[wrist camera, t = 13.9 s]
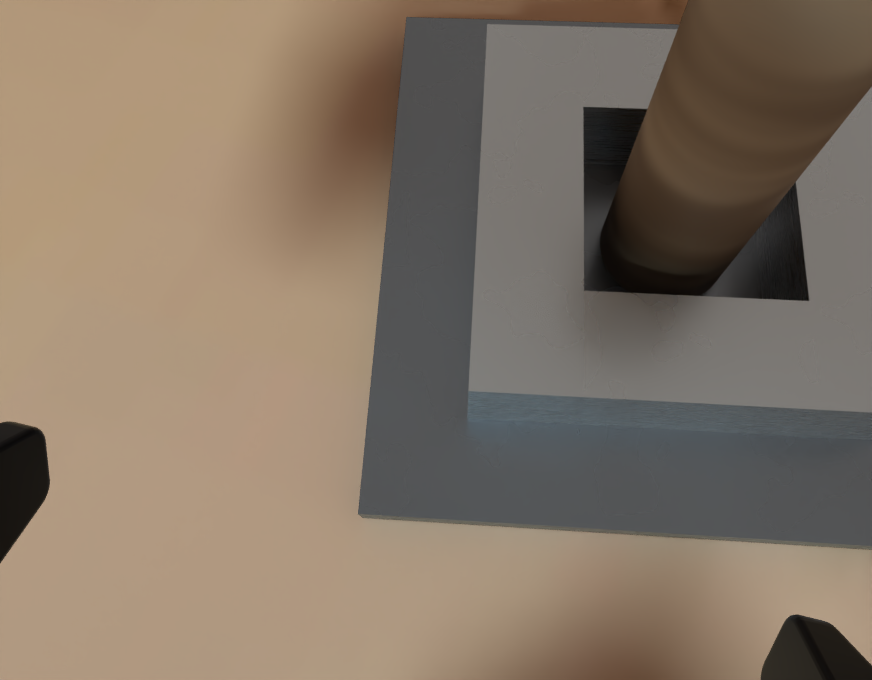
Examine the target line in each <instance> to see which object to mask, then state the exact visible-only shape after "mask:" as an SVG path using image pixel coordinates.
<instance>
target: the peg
mask: <svg viewBox="0 0 872 680" xmlns="http://www.w3.org/2000/svg"><path fill="white" fill-rule="evenodd" d="M871 87H872V0H688V3H687V6H686V8H685V11H684V14H683V16H682V19H681V22H680V24H679V27H678V30H677V32H676V35H675V37H674V40H673V43H672V45H671V48H670V51H669V53H668V56H667V59H666V61H665V64H664V66H663V69H662V72H661V74H660V77H659V80H658V82H657V85H656V88H655V90H654V93H653V96H652V98H651V101H650V103H649V106H648V109H647V111H646V114H645V117H644V119H643V122H642V125H641V127H640V130H639V132H638V135H637V138H636V140H635V143H634V146H633V148H632V151H631V154H630V156H629V159H628V162H627V164H626V167H625V169H624V172H623V175H622V177H621V180H620V183H619V185H618V188H617V191H616V193H615V196H614V198H613V201H612V204H611V206H610V209H609V212H608V214H607V217H606V220H605V222H604V225H603V228H602V231H601V236H600V250H601V255H602V259H603V262H604V264H605V266H606V268H607V270H608V272H609V273H610V275H611V276H612V277H613V278H614V280H615V281H616V282H617V283H618V284H619V285H620V286H621V287H623V288H624V289H625V290H627V291H628V292H630V293H645V294H666V295H688V296H700V295H702V294H703V293H705V292H706V291H707V290H709V289H710V288H711V287H712V286H713V285H714V283H715V282H716V281H717V280H718V279H719V277H720V276H721V275H722V274H723V272H724V271H725V270H726V269H727V267H728V266H729V265H730V264H731V262H732V261H733V260H734V259H735V257H736V256H737V255H738V254H739V252H740V251H741V250H742V249H743V247H744V246H745V245H746V243H747V242H748V241H749V240H750V238H751V237H752V236H753V235H754V233H755V232H756V231H757V230H758V228H759V227H760V226H761V225H762V223H763V222H764V221H765V220H766V218H767V217H768V216H769V215H770V213H771V212H772V211H773V210H774V208H775V207H776V206H777V205H778V203H779V202H780V201H781V200H782V198H783V197H784V196H785V195H786V193H787V192H788V191H789V190H790V188H791V187H792V186H793V185H794V183H795V182H796V181H797V180H798V178H799V177H800V176H801V175H802V173H803V172H804V171H805V170H806V168H807V167H808V166H809V165H810V163H811V162H812V161H813V160H814V158H815V157H816V156H817V155H818V153H819V152H820V151H821V150H822V148H823V147H824V146H825V145H826V143H827V142H828V141H829V139H830V138H831V137H832V136H833V134H834V133H835V132H836V131H837V129H838V128H839V127H840V126H841V124H842V123H843V122H844V121H845V119H846V118H847V117H848V116H849V114H850V113H851V112H852V111H853V109H854V108H855V107H856V106H857V104H858V103H859V102H860V101H861V99H862V98H863V97H864V96H865V94H866V93H867V92H868V91H869V89H870V88H871Z"/></svg>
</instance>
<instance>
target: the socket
mask: <svg viewBox="0 0 872 680" xmlns="http://www.w3.org/2000/svg"><path fill="white" fill-rule="evenodd" d="M678 27H679V25H676V24H640V23H603V22H567V21H530V20H494V19H457V18H420V17H406V28H405V38H404V48H403V58H402V69H401V79H400V89H399V99H398V110H397V120H396V130H395V140H394V151H393V161H392V171H391V181H390V192H389V202H388V212H387V223H386V233H385V243H384V253H383V264H382V274H381V284H380V294H379V305H378V315H377V325H376V335H375V346H374V356H373V366H372V376H371V387H370V397H369V407H368V417H367V428H366V438H365V448H364V458H363V469H362V479H361V489H360V499H359V510H358V514H359V515H360V516H361V517H362V518H375V519H391V520H407V521H423V522H439V523H455V524H471V525H487V526H502V527H518V528H534V529H550V530H566V531H582V532H598V533H614V534H630V535H646V536H662V537H678V538H694V539H710V540H726V541H742V542H757V543H773V544H789V545H805V546H821V547H837V548H853V549H869V550H872V87H871V88H870V89H869V91H868V92H867V93H866V94H865V96H864V97H863V98H862V99H861V101H860V102H859V103H858V104H857V106H856V107H855V108H854V109H853V111H852V112H851V113H850V114H849V116H848V117H847V118H846V119H845V121H844V122H843V123H842V124H841V126H840V127H839V128H838V129H837V131H836V132H835V133H834V134H833V136H832V137H831V138H830V139H829V141H828V142H827V143H826V145H825V146H824V147H823V148H822V150H821V151H820V152H819V153H818V155H817V156H816V157H815V158H814V160H813V161H812V162H811V163H810V165H809V166H808V167H807V168H806V170H805V171H804V172H803V173H802V175H801V176H800V177H799V178H798V180H797V181H796V182H795V183H794V185H793V186H792V187H791V188H790V190H789V191H788V192H787V193H786V195H785V196H784V197H783V198H782V200H781V201H780V202H779V203H778V205H777V206H776V207H775V208H774V210H773V211H772V212H771V213H770V215H769V216H768V217H767V218H766V220H765V221H764V222H763V223H762V225H761V226H760V227H759V228H758V230H757V231H756V232H755V233H754V235H753V236H752V237H751V238H750V240H749V241H748V242H747V243H746V245H745V246H744V247H743V249H742V250H741V251H740V252H739V254H738V255H737V256H736V257H735V259H734V260H733V261H732V262H731V264H730V265H729V266H728V267H727V269H726V270H725V271H724V272H723V274H722V275H721V276H720V277H719V279H718V280H717V281H716V282H715V283H714V285H713V286H712V287H711V288H710V289H709V290H707V291H706V292H705V293H703V294H702V295H700V296H688V295H666V294H645V293H630V292H628V291H627V290H625V289H624V288H623V287H621V286H620V285H619V284H618V283H617V282H616V281H615V280H614V278H613V277H612V276H611V275H610V273H609V272H608V270H607V268H606V266H605V264H604V262H603V259H602V255H601V250H600V236H601V231H602V228H603V225H604V222H605V220H606V217H607V214H608V212H609V209H610V206H611V204H612V201H613V198H614V196H615V193H616V191H617V188H618V185H619V183H620V180H621V177H622V175H623V172H624V169H625V167H626V164H627V162H628V159H629V156H630V154H631V151H632V148H633V146H634V143H635V140H636V138H637V135H638V132H639V130H640V127H641V125H642V122H643V119H644V117H645V114H646V111H647V109H648V106H649V103H650V101H651V98H652V96H653V93H654V90H655V88H656V85H657V82H658V80H659V77H660V74H661V72H662V69H663V66H664V64H665V61H666V59H667V56H668V53H669V51H670V48H671V45H672V43H673V40H674V37H675V35H676V32H677V30H678Z"/></svg>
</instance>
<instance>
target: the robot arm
mask: <svg viewBox="0 0 872 680" xmlns="http://www.w3.org/2000/svg"><path fill="white" fill-rule="evenodd" d="M49 485H50V477H49V468H48V459H47V450H46V440H45V436H44V434H43V433H42V431H41V430H40V429H38V428H36V427H33V426H29V425H25V424H20V423H16V422H2V423H0V563H1V561H2V560H3V559H4V557H5V556H6V554H7V553H8V552H9V550H10V549H11V547H12V546H13V544H14V543H15V542H16V540H17V539H18V537H19V536H20V535H21V533H22V532H23V530H24V529H25V527H26V526H27V525H28V523H29V522H30V520H31V519H32V518H33V516H34V515H35V513H36V512H37V510H38V509H39V508H40V506H41V505H42V503H43V502H44V500H45V498H46V496H47V493H48V490H49ZM761 680H872V665H871V664H870V663H869V662H868V661H867V660H866V659H865V658H864V657H863V656H862V655H861V654H860V653H859V652H858V651H857V650H856V648H855V647H854V646H853V645H852V644H851V643H850V642H849V641H848V640H847V639H846V638H845V637H844V636H843V635H842V634H841V633H840V632H839V631H838V630H837V629H836V628H835V627H834V626H833V625H832V624H830V623H828V622H825V621H822V620H818V619H813V618H809V617H805V616H801V615H792V616H789V617H788V618H787V619H786V621H785V622H784V624H783V626H782V628H781V630H780V632H779V634H778V636H777V638H776V640H775V642H774V644H773V646H772V648H771V650H770V652H769V654H768V656H767V658H766V660H765V662H764V665H763V668H762V673H761Z"/></svg>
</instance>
